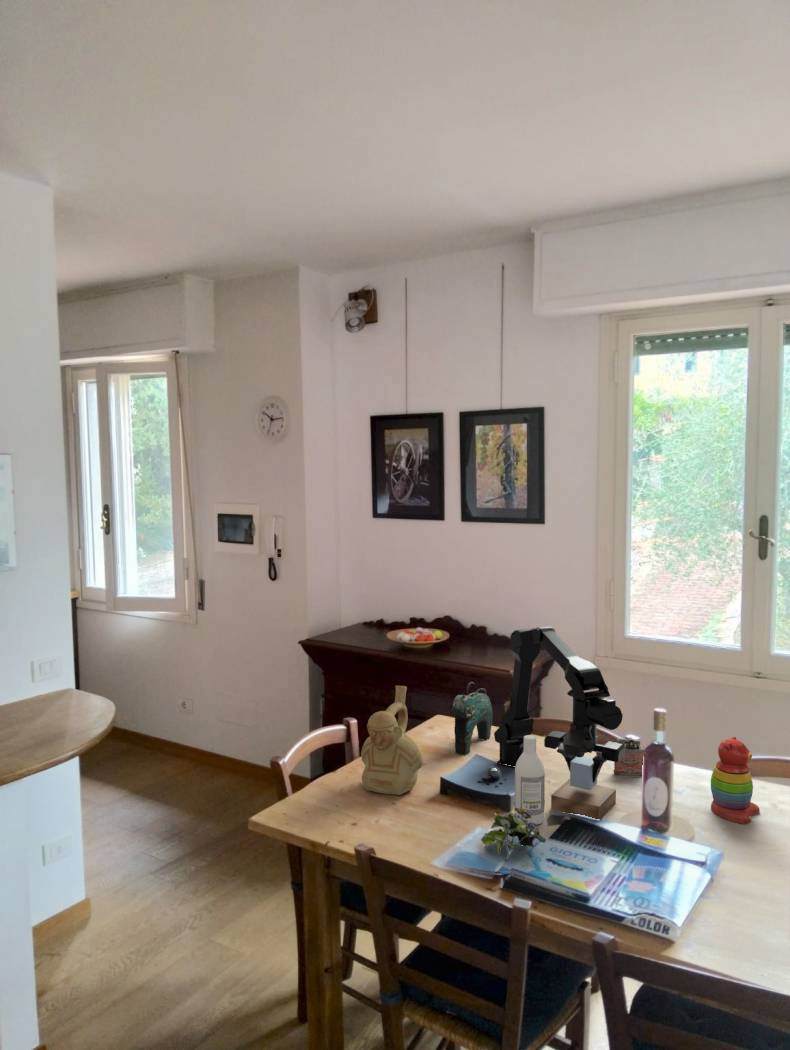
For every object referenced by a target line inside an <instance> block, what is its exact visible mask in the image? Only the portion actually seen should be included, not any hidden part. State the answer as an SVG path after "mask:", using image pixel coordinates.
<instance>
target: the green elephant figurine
mask: <svg viewBox="0 0 790 1050" xmlns="http://www.w3.org/2000/svg"><path fill="white" fill-rule="evenodd" d="M471 684H472V686H475V682H473V681H470V682H468V684H467V687H466V694H467V695H465V694H457V695H456V696H455V698H454V699H453V701H452V710H451V711H452V714H453V715H454V749H455V750H454V751H455V752H454V753H455V754H459V755H463V756H466V755H468V754H470V751H471V747H472V745H471V744H472V737H473V734H474V729H475V727H476V730H477V739H478V738H479V740H482V739H484V741H487V739H488V740H489V739H490V738H491V734H492V732H491V731H492V725H493V707H492V703H491V699H490V697H489V696H488V695H487V689H486V688H482V687H481V688H478V689H477V690H476V691H474V692H472V693H469V688H470V685H471ZM479 691H483V692H484V693H482V692H479Z"/></svg>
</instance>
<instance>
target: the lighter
mask: <svg viewBox="0 0 790 1050" xmlns="http://www.w3.org/2000/svg"><path fill="white" fill-rule="evenodd" d="M616 743H620V744H623V745H624V747H625V756H624V757H623V758H622V759H621V760H620V761H619V762H613V763H614V764H613V773H614V774H613V775H614V776H616V777H623V776H627V777H626V778H641V776H642V765H643V753H644V754H645V751H644V750H645V749H646V748H645V747H644V746H640V745H641V740H640V739H636V738H635V739H633V738H632V737H628V738H622V737H621V738H620V737H618V738H617V739H616ZM637 776H638V777H637Z"/></svg>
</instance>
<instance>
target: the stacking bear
mask: <svg viewBox="0 0 790 1050" xmlns="http://www.w3.org/2000/svg"><path fill="white" fill-rule="evenodd" d="M717 754H718V757H719V760H718V761H717V762H716V764H715V765H714V766H713V768H712V772H711V773H712V774H711V778H710V790H711V796H712V799H713V800H712V802H711V805H710V809H711V811H712V812H713V813H714V814H716V815H717V816H718V817H721V818H724V819H726V820H727V821H729V822H734V823H738V824H743V825H744V824H749V823H750V822H751V817H752V816H754V815H758V814H759V813H760V811H761V810H760V807H759V806H758V805H757V804H756V803H754V802H752V797H753V792H754V791H753V789H754V785H753V779H752V775H751V771H750V767H749V765H748V764H749V762H750V761H751V759H752V757H753V756H752V753H751V751H750V750H749V749H748V747H747V746H746V745H745V743H744V742H742V741H741V740H738V739H737V737H736V736H732V737H731V738H729V739H724V740H722V741H721V742H720V743H719V745H718V748H717Z"/></svg>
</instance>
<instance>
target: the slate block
mask: <svg viewBox="0 0 790 1050" xmlns="http://www.w3.org/2000/svg"><path fill="white" fill-rule="evenodd" d="M593 765H594V762H593V757H592V758H591V757H587V756H583V757H575V758H574V759H573V760H572V761H571V762H570V771H569V779H570V786H574V787H578V788H582V789H586V790H591V789H592V788H593V787H594V786H595V785H598V778H597V779H596V782H595V783H593V778H592V776H593Z"/></svg>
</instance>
